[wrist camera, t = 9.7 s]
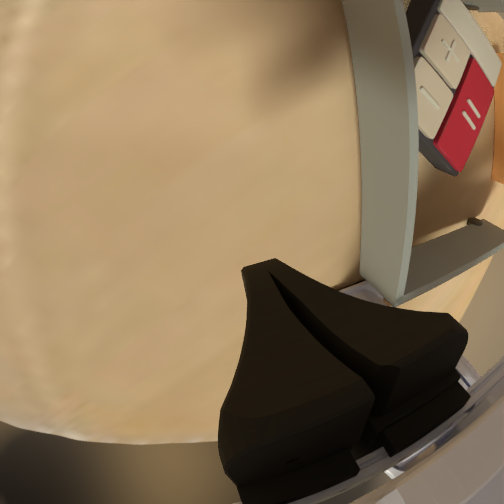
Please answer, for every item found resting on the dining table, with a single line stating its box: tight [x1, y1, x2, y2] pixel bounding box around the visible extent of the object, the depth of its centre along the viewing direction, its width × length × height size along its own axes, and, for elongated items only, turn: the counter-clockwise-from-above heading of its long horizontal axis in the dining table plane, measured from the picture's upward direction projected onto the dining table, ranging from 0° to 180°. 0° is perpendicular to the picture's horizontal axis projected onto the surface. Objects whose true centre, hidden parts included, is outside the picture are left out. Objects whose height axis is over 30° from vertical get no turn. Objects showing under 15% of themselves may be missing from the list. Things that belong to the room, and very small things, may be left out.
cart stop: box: [492, 53, 504, 184], centre depth 21 cm, size 16×2×2 cm, turn 9°
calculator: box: [406, 0, 502, 176], centre depth 17 cm, size 11×4×15 cm
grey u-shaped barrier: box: [342, 0, 504, 307], centre depth 17 cm, size 27×20×6 cm
